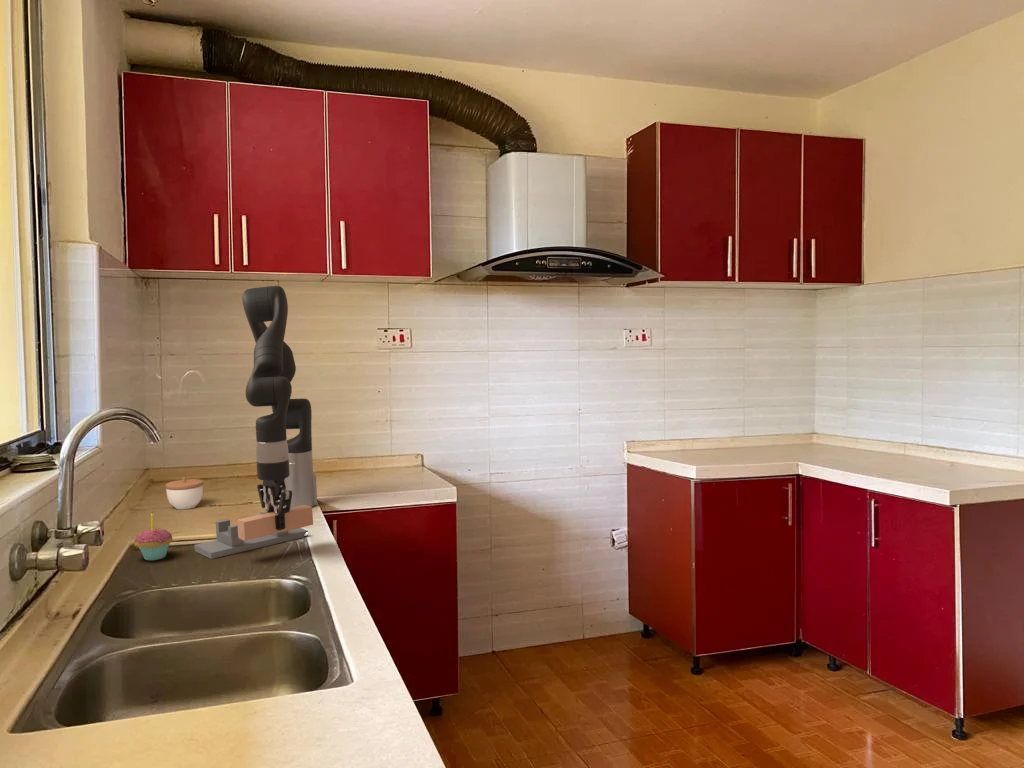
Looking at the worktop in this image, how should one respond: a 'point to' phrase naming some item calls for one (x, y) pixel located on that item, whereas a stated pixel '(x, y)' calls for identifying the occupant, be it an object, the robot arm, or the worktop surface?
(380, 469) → the worktop surface
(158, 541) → the cupcake
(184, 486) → the lidded jar
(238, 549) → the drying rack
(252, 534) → the clay strip
